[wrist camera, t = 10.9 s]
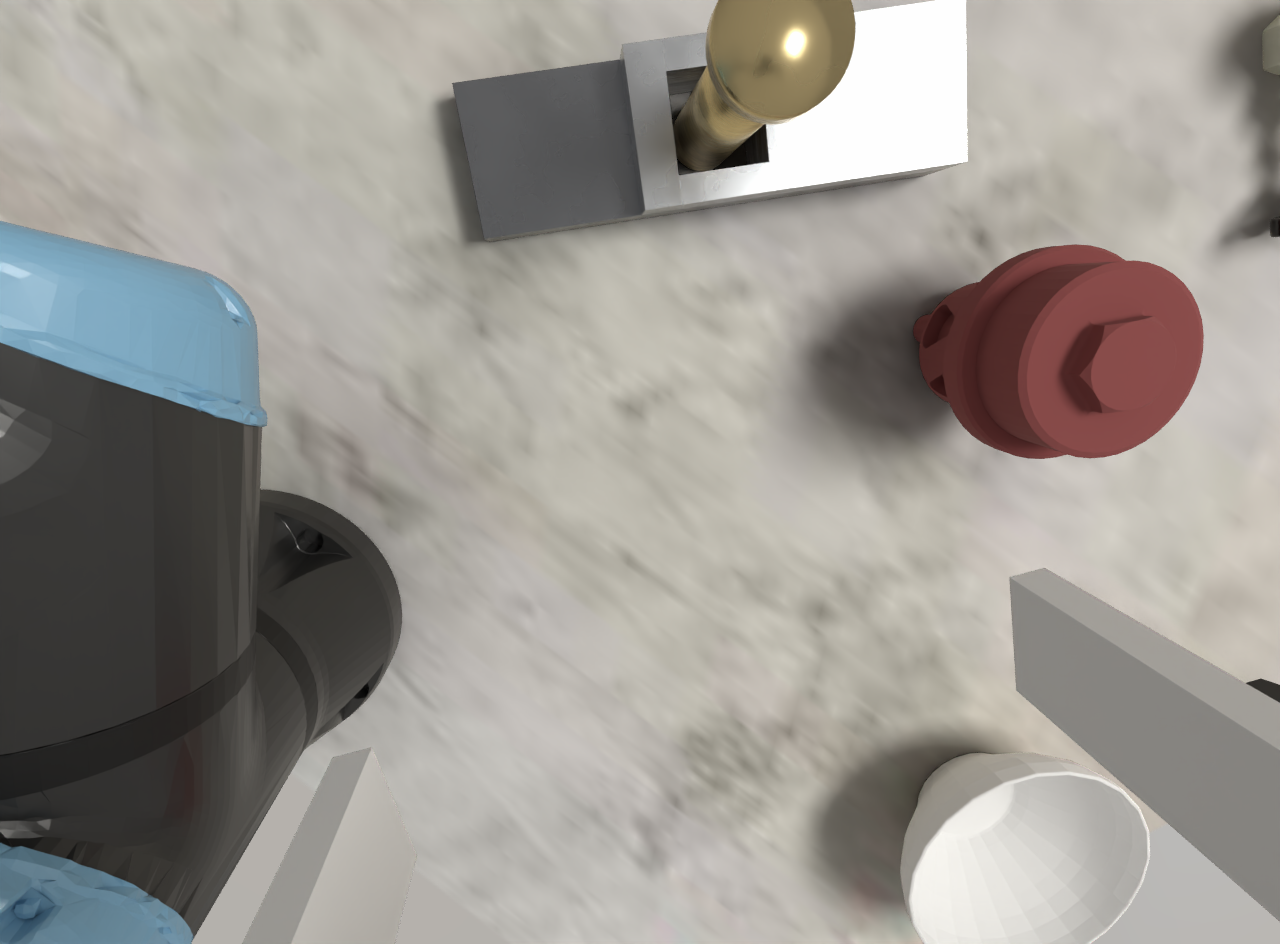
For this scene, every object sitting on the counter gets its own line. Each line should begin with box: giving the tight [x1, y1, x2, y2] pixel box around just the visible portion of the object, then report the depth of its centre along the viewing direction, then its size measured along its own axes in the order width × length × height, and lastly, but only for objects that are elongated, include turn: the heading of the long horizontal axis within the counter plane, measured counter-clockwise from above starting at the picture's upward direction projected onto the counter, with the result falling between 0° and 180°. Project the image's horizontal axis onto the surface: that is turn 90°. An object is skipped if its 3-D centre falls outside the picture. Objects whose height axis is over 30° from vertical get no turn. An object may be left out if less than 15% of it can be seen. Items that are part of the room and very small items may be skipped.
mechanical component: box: [913, 245, 1204, 459], centre depth 32 cm, size 12×10×10 cm
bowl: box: [900, 753, 1150, 944], centre depth 44 cm, size 16×16×7 cm
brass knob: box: [673, 0, 855, 171], centre depth 27 cm, size 5×5×14 cm
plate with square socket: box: [452, 0, 967, 242], centre depth 32 cm, size 24×7×4 cm, turn 99°
